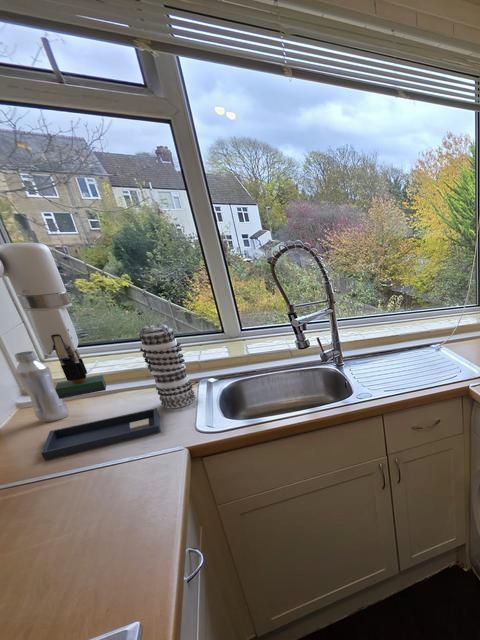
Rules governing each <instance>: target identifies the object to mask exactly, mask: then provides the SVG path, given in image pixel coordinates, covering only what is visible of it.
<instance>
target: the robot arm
mask: <svg viewBox="0 0 480 640" xmlns="http://www.w3.org/2000/svg"><path fill="white" fill-rule="evenodd" d="M6 277H7V278H8V279H9V281H10V284H11V285H12V288H13V290H14V292H15V294H16V296H17V299H18V301H19V303H20V305H21V307H22V310H23V311H25V312H30V316H31V319H32V322H33V325H34V328H35V331H36V334H37V336H38V339H39V341H40V345H41V346H42V349H43V352H44V353H45V354H46V355H52V353H53V352H54V351H55V353H56V356H57V358H58V361H59V363H60V367H61V369H62V372H63V374H64V377H65V378H66V381H72V380H79V379H85V378H87V374H88V371H87V367H86V366H85V365H86V364H85V363H84V361H83V358H82V357H81V355H80V353H79V351H78V346H79V337H78V335H77V331H76V329H75V326H74V323H73V321H72V319H71V316H70V314H69V311H68V310H67V309H68V308H70V307H72V306H73V304H72V301H71V299H70V296H69V294H68V291H67V289H66V287H65V284H64V282H63V279H62V276H61V274H60V271H59V270H58V266H57V263H56V261H55V259H54V256H53V254H52V251H51V249H50V248H49V247H48V246H47V245H46V244H43V243H40V242H9V243H8V242H7V243H1V244H0V279H1V278H6ZM70 353H71V355H70ZM75 353H76V354H75ZM68 354H69V355H68ZM76 355H77V357H78V359H77V357H76ZM78 360H79V362H78Z"/></svg>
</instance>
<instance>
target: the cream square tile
mask: <svg viewBox="0 0 480 640" xmlns="http://www.w3.org/2000/svg"><path fill="white" fill-rule="evenodd" d="M146 427H150V421H149V419H144V420H140V421H136V422H131V423H130V430H131V431H133V430H138V429H142V428H146Z"/></svg>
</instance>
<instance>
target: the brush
mask: <svg viewBox="0 0 480 640" xmlns="http://www.w3.org/2000/svg"><path fill="white" fill-rule="evenodd" d="M75 354H76V353H75ZM68 355H69V354H68ZM70 355H71V353H70ZM76 357H77V355H76ZM77 359H79V358H78V357H77ZM78 362H79V360H78ZM55 390H56V393H57V395H58V397H59V399H62V400H63V399H66V398H71V397H77V396H83V395H88V394H93V393H99V392H104V391H106V390H107V383H106V381H105V378H104V375H102V374H101V375H96V376H95V375H94V376H90V377H89V376H88V377H86V378H85V379H79V380H72V381H68V380H66V381H61V382H56V385H55Z"/></svg>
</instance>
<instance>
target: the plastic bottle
mask: <svg viewBox="0 0 480 640" xmlns="http://www.w3.org/2000/svg"><path fill="white" fill-rule="evenodd" d="M14 358H15V361H16V362H17V363H18V364H17V366H16V368H15V371H14V373H15V376H16V378H17V379H18V381H19V382H20V383H21V385H22V386H23V388H24V390H25V391H26V392H27V394H28V397H29V398H30V401H31V404H32V407H33V412H34V416H35V417H36V418H37V419H38V420H39V421H40V422H43V423H51V422H56V421H60V420H63V419H65V418H67V417H68V416H69V414H70V411H69V406H68V405H67V404H66V403H65V401H64V400H63V398H62V399H59V397H58V395H57V393H56V390H55V388H56V385H55V383H54V378H53V374H52V370H51V368H50V367H49V366H48V365H47V364H45V363H44V362H42V361H40V360H38V356H37V355H36V353H35V351H32V350H30V351H29V350H28V351H20V352H16V353H15V354H14Z"/></svg>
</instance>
